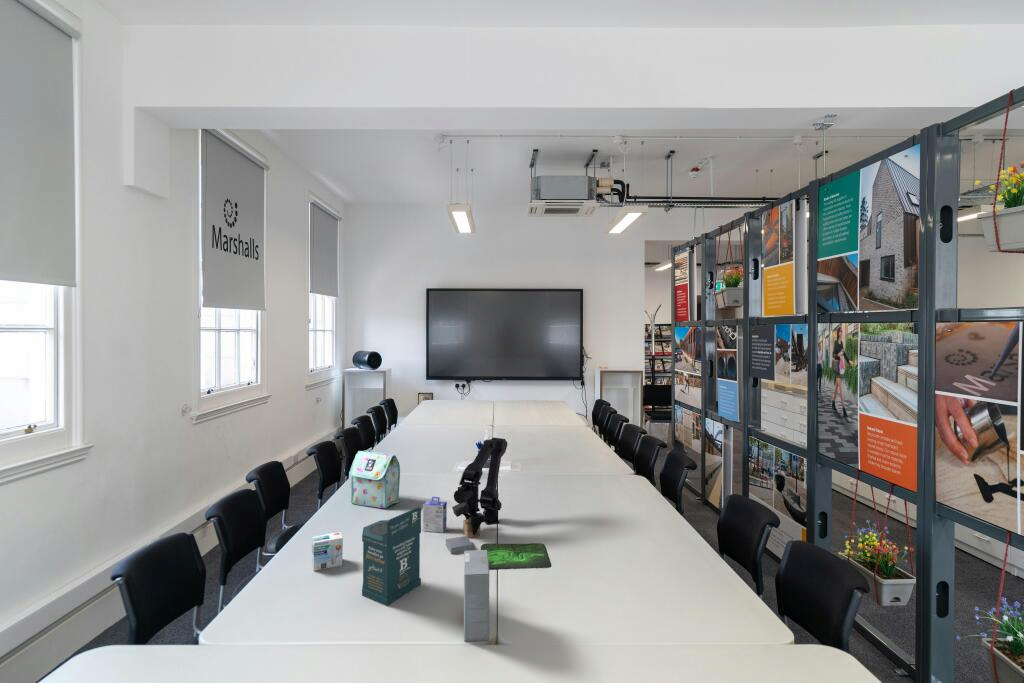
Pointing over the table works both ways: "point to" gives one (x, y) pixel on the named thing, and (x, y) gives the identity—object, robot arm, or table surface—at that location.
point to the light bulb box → (327, 551)
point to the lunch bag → (375, 479)
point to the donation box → (392, 557)
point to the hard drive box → (476, 595)
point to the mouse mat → (517, 556)
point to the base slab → (459, 544)
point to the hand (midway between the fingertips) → (471, 531)
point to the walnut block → (469, 529)
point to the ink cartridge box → (434, 515)
